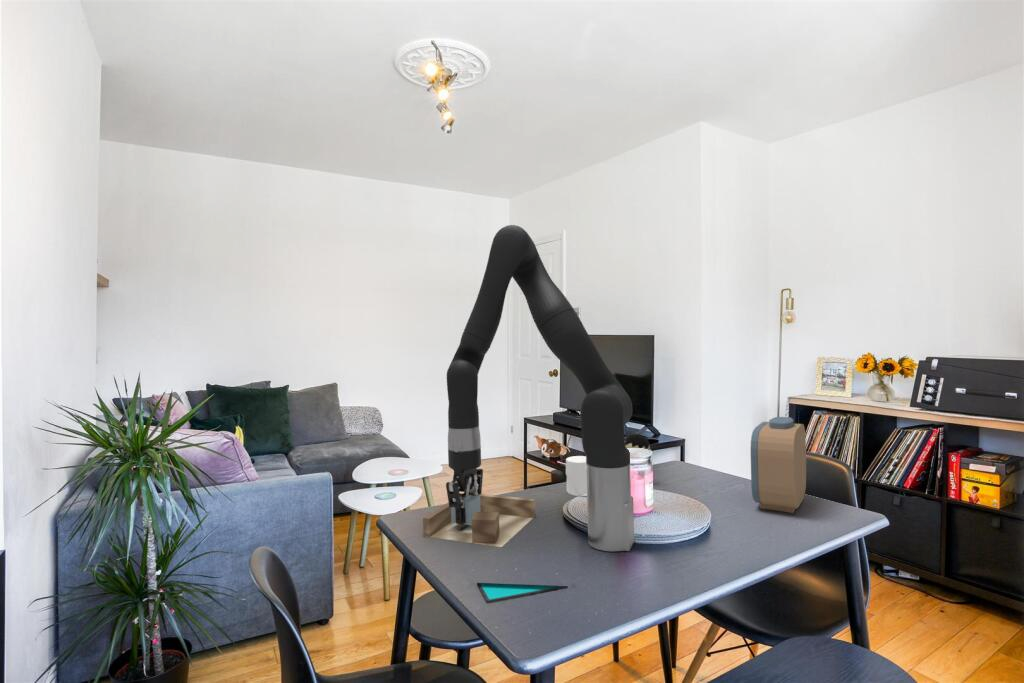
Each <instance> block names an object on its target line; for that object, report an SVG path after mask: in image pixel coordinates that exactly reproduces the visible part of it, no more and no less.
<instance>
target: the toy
mask: <svg viewBox="0 0 1024 683" xmlns="http://www.w3.org/2000/svg"><path fill="white" fill-rule="evenodd" d="M650 445H651V444H650V442H649V440H648V439H647V438H646V437H645V436H644V435H642V434H639V433H633V434H630V435H628V436H627V437H626V438H625V446H626V448H644V449H648V450H650V449H651V446H650ZM650 451H651V450H650ZM649 460H650V463H651V465H652V464H653V461H652V460H651V459H649Z"/></svg>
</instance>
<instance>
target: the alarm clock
mask: <svg viewBox="0 0 1024 683" xmlns="http://www.w3.org/2000/svg"><path fill="white" fill-rule="evenodd" d="M806 443H807V442H806V429H805V425H804V423H794V419H793V418H792V417H789V416H788V417H787V416H775V417H772V418H770V419H768V421H762V422H761V423H759V424H758V425H757V426H755V427H754V429H753V430H752V433H751V438H750V480H751V481H750V483H751V484H750V485H751V495H752V499H753V500H754V502H755V503H757V504H759V509H764V510H772V511H778V512H785V513H791V514H794V512H795V511H796V509H798V508H799V507H800V505H801V503H802V501H803V500H804V497H805V494H806V488H807V453H806V452H807V451H806V450H807V447H806V446H807V445H806Z"/></svg>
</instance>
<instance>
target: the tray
mask: <svg viewBox="0 0 1024 683" xmlns="http://www.w3.org/2000/svg"><path fill="white" fill-rule="evenodd" d="M478 496H480V508H481V512H499V537H498V539H497V542H496V544H489V543H474V545H475V544H476V545H482V546H491V547H497V548H503V547H504V546H505V545H506V544H507V543H508V542H509V541H510V540H511V539H512V538H513V537H515V535H517V534H518V533H519V532H520V531H521V530H523V528H524V527H525V526H526V525H527V524H529V522H530V521H532V520H533V519H534V518H535V517H536V499H535V498H526V497H518V496H516V497H515V496H508V495H506V496H505V495H499V494H498V495H497V494H489V493H488V494H487V493H481V495H478ZM422 531H423V532H422V533H423V536H422V537H427V538H435V539H441V540H448V541H453V542H454V541H456V542H462V543H469V544H473V543H472V525H465V524H463V525H461V524H457V523H451V507H449V502H447V503H445V504H444V505H442V506H440V507H438V508H436V509H435V510H434V511H432V512H431V513H428V514H427V515H425V516H424V517H422Z"/></svg>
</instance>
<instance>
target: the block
mask: <svg viewBox="0 0 1024 683" xmlns="http://www.w3.org/2000/svg"><path fill="white" fill-rule="evenodd" d="M460 499H461V500H462V497H460ZM453 502H454V498H453ZM476 512H481V508H480V496H473V495H468V497H467V498H466V503H465V515H466V523H465V525H472V518H473V517H474V515H475V513H476ZM451 523H456V515H455V507H451Z"/></svg>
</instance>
